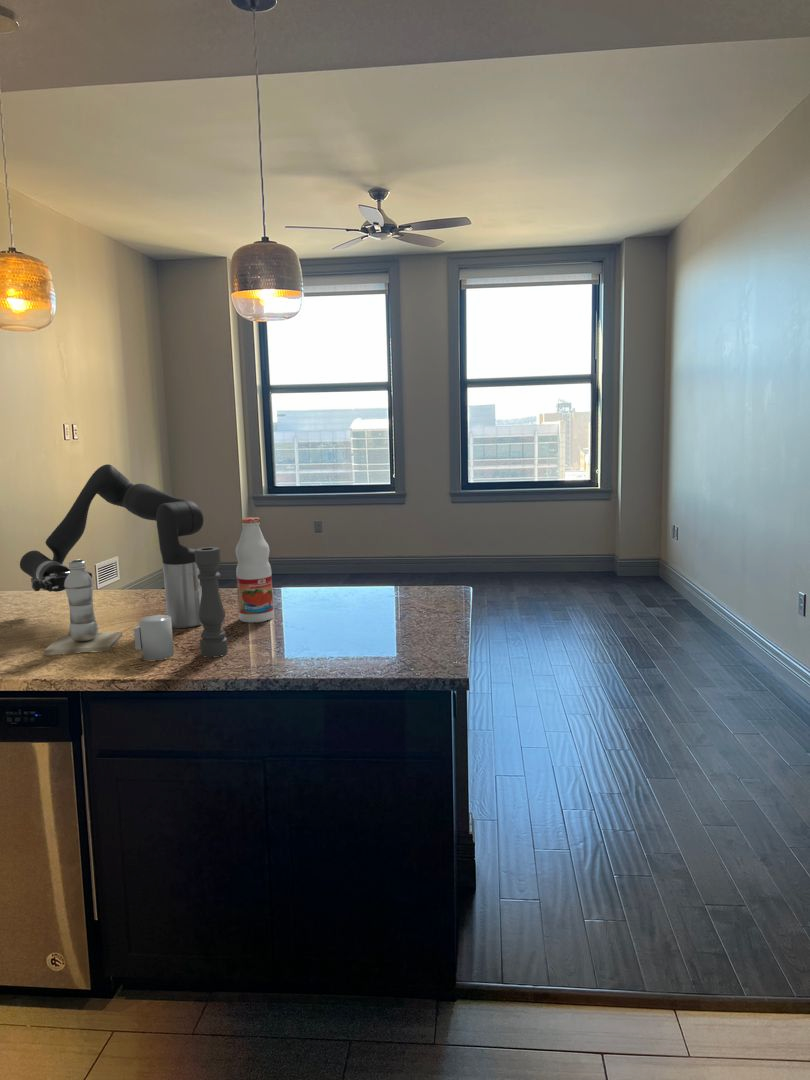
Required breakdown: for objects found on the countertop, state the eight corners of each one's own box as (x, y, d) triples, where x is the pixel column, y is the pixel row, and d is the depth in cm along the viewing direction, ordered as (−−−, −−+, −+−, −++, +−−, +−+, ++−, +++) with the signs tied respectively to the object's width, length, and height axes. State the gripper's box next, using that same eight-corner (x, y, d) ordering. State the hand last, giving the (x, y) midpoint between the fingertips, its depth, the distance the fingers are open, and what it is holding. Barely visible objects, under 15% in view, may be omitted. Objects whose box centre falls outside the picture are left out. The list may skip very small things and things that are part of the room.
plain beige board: (122, 636, 194) (122, 631, 194) (109, 651, 181) (109, 646, 181) (61, 639, 192) (61, 635, 192) (44, 655, 179) (44, 650, 179)
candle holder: (217, 648, 181) (210, 545, 177) (233, 652, 177) (226, 548, 173) (195, 654, 177) (187, 549, 173) (211, 659, 173) (204, 552, 169)
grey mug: (176, 650, 180) (173, 614, 179) (171, 659, 173) (168, 621, 172) (140, 653, 179) (137, 616, 178) (134, 662, 172) (131, 624, 171)
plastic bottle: (89, 644, 183) (81, 564, 179) (64, 643, 184) (56, 563, 181) (104, 637, 189) (97, 559, 186) (80, 636, 190) (73, 558, 187)
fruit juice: (266, 612, 214) (260, 515, 209) (279, 619, 206) (273, 518, 201) (234, 617, 209) (228, 518, 204) (246, 625, 201) (239, 521, 196)
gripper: (23, 565, 200) (37, 574, 187) (79, 558, 209) (96, 566, 196) (26, 593, 201) (40, 604, 189) (82, 585, 210) (99, 594, 197)
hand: (68, 585), depth 192 cm, fingers open, 8 cm apart
